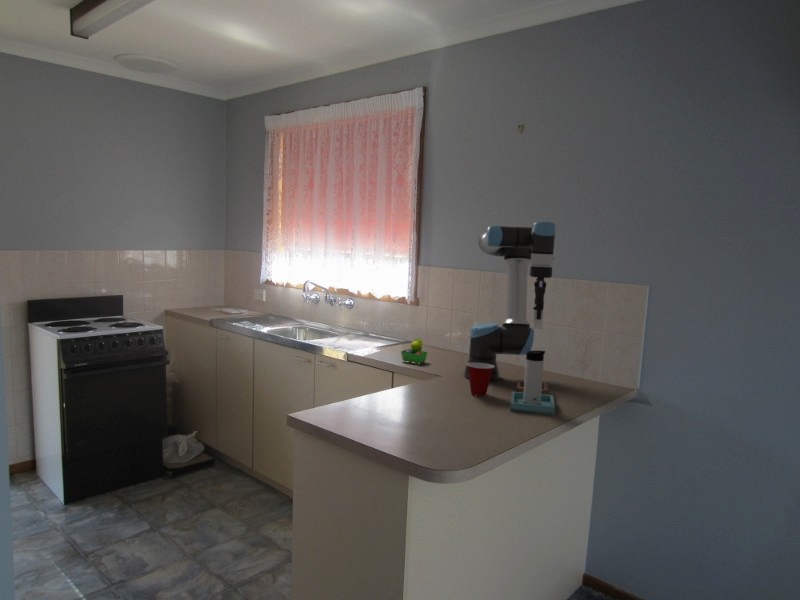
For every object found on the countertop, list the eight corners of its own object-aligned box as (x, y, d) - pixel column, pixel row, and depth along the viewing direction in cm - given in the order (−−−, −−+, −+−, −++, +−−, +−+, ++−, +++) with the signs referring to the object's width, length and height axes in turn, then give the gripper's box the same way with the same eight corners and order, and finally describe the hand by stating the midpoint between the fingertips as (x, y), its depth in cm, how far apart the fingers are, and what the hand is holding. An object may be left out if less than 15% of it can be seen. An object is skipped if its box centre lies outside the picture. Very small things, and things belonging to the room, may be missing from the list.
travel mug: (538, 408, 200) (542, 352, 198) (520, 404, 204) (523, 350, 201) (543, 404, 206) (547, 350, 203) (526, 400, 209) (529, 347, 207)
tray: (510, 411, 199) (510, 402, 199) (511, 399, 214) (511, 391, 213) (554, 415, 196) (554, 407, 195) (552, 403, 210) (552, 395, 210)
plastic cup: (496, 392, 221) (498, 363, 220) (488, 399, 212) (490, 368, 210) (469, 388, 226) (471, 359, 224) (460, 395, 216) (462, 364, 215)
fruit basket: (399, 362, 268) (400, 338, 266) (409, 358, 275) (409, 336, 274) (420, 365, 262) (421, 341, 260) (429, 362, 269) (430, 339, 268)
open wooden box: (516, 397, 216) (516, 387, 215) (516, 389, 227) (517, 380, 227) (547, 400, 213) (548, 390, 213) (546, 392, 225) (546, 382, 224)
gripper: (554, 268, 186) (549, 332, 188) (551, 264, 210) (547, 320, 213) (530, 267, 187) (526, 330, 190) (530, 263, 211) (526, 319, 214)
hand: (537, 325), depth 201 cm, fingers open, 13 cm apart
